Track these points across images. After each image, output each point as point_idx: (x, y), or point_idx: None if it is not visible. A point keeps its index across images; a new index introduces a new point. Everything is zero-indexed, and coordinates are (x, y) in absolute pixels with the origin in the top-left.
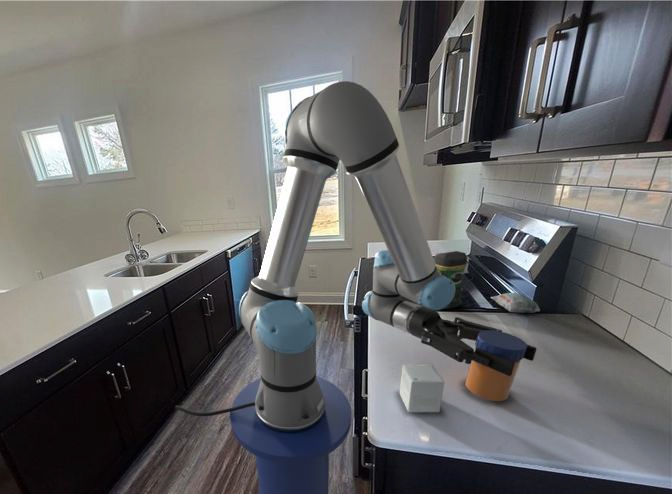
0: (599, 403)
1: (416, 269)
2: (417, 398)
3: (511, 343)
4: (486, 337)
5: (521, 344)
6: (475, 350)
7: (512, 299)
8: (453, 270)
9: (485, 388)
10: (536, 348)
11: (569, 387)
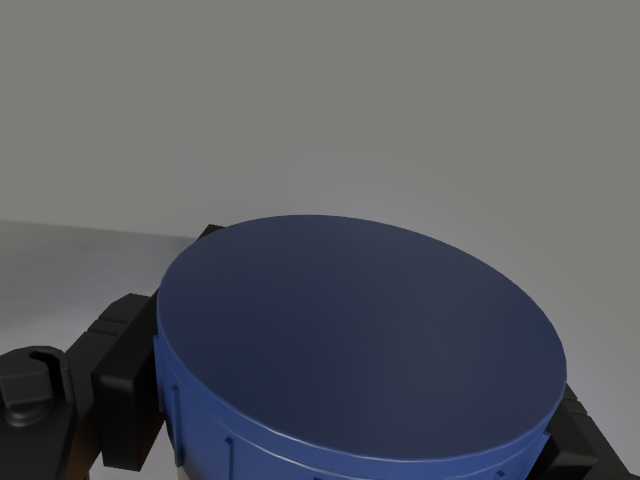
0: (128, 289)
1: None
2: None
3: (360, 247)
4: (469, 358)
5: (314, 225)
6: (586, 469)
7: None
8: None
9: None
10: (213, 226)
11: (56, 335)
